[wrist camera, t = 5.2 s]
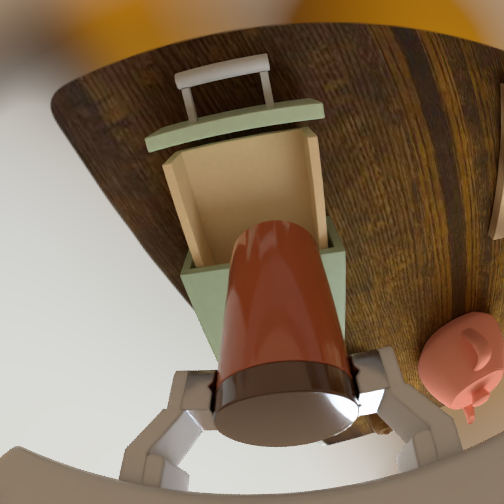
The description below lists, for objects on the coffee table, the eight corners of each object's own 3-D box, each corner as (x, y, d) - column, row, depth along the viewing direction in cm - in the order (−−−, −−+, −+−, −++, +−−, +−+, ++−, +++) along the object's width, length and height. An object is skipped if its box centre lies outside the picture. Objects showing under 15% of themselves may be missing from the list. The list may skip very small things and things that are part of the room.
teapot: (482, 358, 47) (505, 407, 36) (416, 390, 51) (432, 444, 40) (497, 278, 35) (540, 338, 24) (409, 322, 39) (440, 397, 28)
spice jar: (221, 227, 15) (191, 396, 7) (316, 213, 14) (368, 378, 7) (240, 297, 17) (232, 449, 10) (321, 286, 17) (352, 437, 9)
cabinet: (192, 237, 32) (179, 275, 26) (329, 215, 30) (345, 250, 25) (228, 339, 41) (225, 378, 35) (334, 325, 39) (343, 364, 34)
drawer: (150, 84, 22) (129, 87, 18) (303, 51, 21) (312, 46, 17) (204, 266, 33) (198, 295, 29) (328, 248, 31) (337, 275, 27)
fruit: (383, 408, 54) (391, 438, 48) (360, 408, 54) (366, 441, 47) (399, 393, 51) (408, 425, 44) (374, 394, 50) (383, 428, 44)
